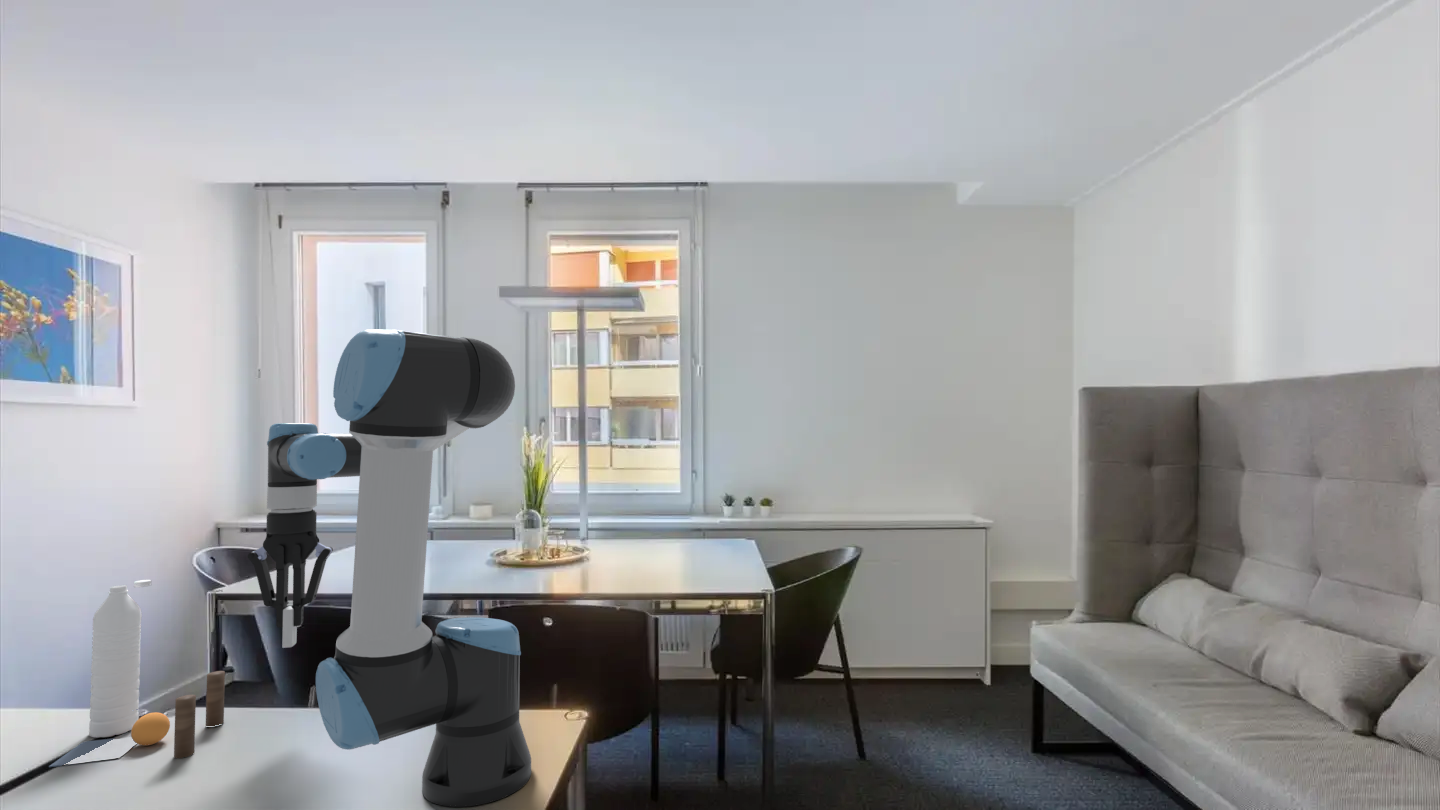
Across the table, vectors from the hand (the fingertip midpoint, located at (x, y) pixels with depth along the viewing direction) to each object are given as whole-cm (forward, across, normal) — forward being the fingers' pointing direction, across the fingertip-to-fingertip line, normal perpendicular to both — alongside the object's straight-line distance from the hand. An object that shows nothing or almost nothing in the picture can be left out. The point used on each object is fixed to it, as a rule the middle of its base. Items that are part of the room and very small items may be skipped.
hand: (289, 645), depth 121 cm
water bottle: (+15, +28, -10) cm, 34 cm away
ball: (+12, +20, 0) cm, 23 cm away
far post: (+14, +13, -6) cm, 20 cm away
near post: (+14, +13, +6) cm, 20 cm away
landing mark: (+14, +27, 0) cm, 30 cm away
